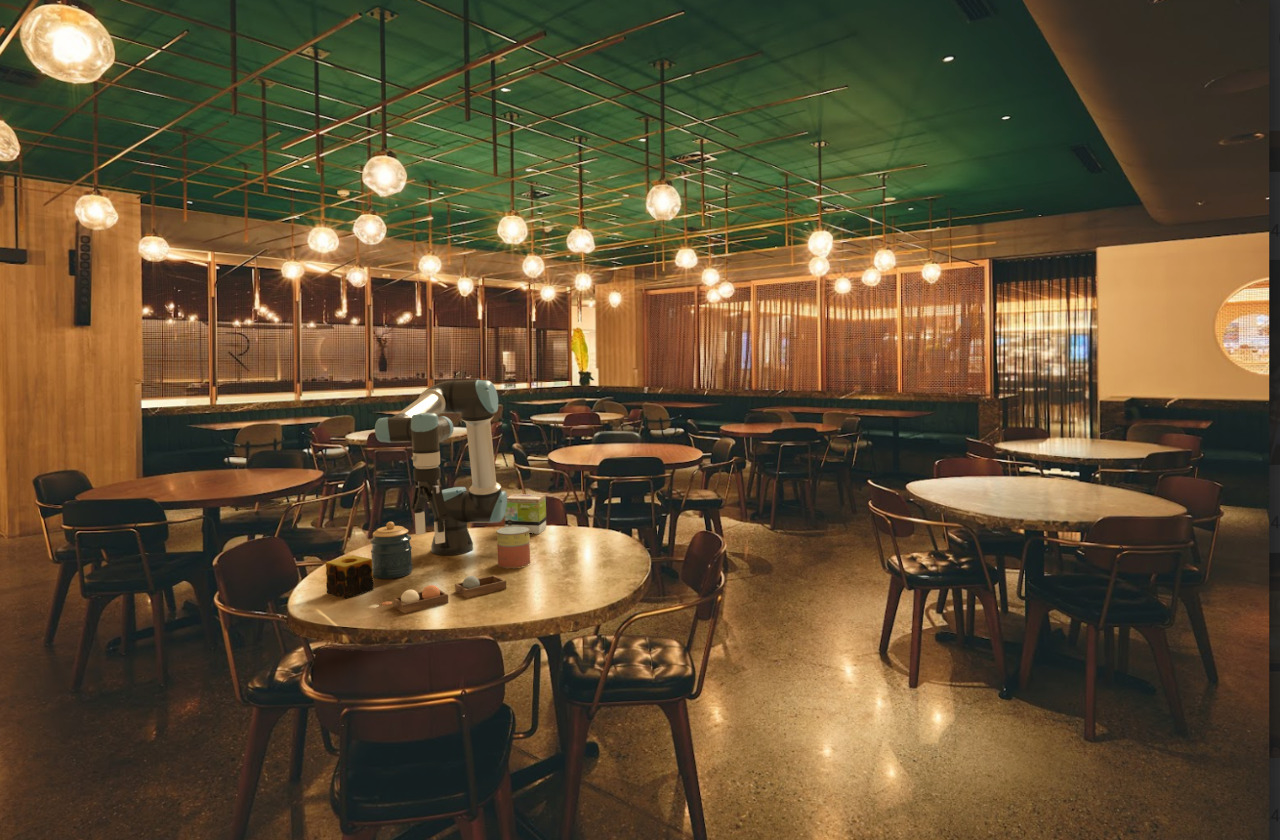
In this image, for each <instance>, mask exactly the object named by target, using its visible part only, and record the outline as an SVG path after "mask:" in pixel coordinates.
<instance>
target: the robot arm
mask: <svg viewBox="0 0 1280 840" xmlns="http://www.w3.org/2000/svg"><path fill="white" fill-rule="evenodd" d="M498 410H499V396H498V391H497V389H496V386H495V385H494V383H493V382H491V381H490V380H485V379H484V380H481V379H467V380H464V379H462V380H446V381H442V382H439V383H437V384H434V385H431V386H429V387H427V388H426V389H424V390H423V391H422V392H421V393H420V394H419V396H418V398H417V399H416V400H414V401H413V402H412V403H410V404H409V405H407V406H406V407H405V408H404V409H402V410H401V411H400V412H398V413H397V414H395V415H394V416H392V417H388V416H386V417H380V418H378V419H377V420H376V422H375V425H374V433H375V438H376V439H377V440H378V442H380V443H389V444H392V443H411V448H412V456H411V460H412V465H413V467H414V468H413V470H412V471H413V472H412V473H413V481H414V482H413V493H412V499H411V504H410V509H411V510H412V511H413V513H414V519H415V520H414V523H415V524H414V525H415V528H414V529H415V536H419V535H425V534H426V518H425V517H426V516H425V515H426V514H425V512H426V510H425V506H426V503H428V504H429V505H430V508H431V511H432V514H433V517H434V518H433V524H434V525H433V526H434V527H433V528H434V531H433V532H434V536H433V539H432V541H431V545H430V548H431V549H430V550H431V553H432V554H434V555H436V556H437V555H439V556H453V555H454V556H455V555H461V554H465V553H466V554H467V553H468V552H470V551H472V550H473V549H474V542H473V540H472V537H471V535H470V531H469V529H468V523H472V524H473V523H474V524H477V523H480V524H482V523H483V524H485V523H486V524H487V523H488V524H492V523H500V522H502V521H503V520H504V519H505V512H506V507H507V497H508V494H507V492H506V490H502V485H501V484H500V483H499V482H497V477H496V467H495V465H496V464H495V458H494V457H495V455H494V447H493V446H494V445H493V437H492V424H491V421H492V420H493V418H494V417H495V413H497V412H498ZM441 414H460V419H461V421H462V422H464V423H465V426H466V436H467V444H468V445H467V446H468V454H469V463H470V464H469V465H470V472H471V482H472V483H471V486H470V487H469V488H468V490H467V488H466V487H465V486H456V487H455V486H454V487H451V488H445V489H443V487H442V485H441V484H440V485H437V481H439V480H441V478H442V476H441V475H442V474H441V473H442V472H441V467H440V464H441V453H440V452H441V451H440V442H445V441H446V440H447V439H449V438H450V437H451V436H452V435H453V433H454V423H453V421H452V420H451V419H450V418H449V417H448V416H444V415H441Z"/></svg>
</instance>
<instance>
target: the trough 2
mask: <svg viewBox="0 0 1280 840" xmlns="http://www.w3.org/2000/svg"><path fill="white" fill-rule="evenodd" d="M478 580H479V583H480V585H479V587H475V588H471V589H466V588H464V587H463V582H459V583H455V584H454V586H455V587H454V592H455V593H456V594H458V595H460V596H462V597H464V598H465V599H469V598H474V597H477V596H478V597H479V596H481V595H485V594H489V593H494V592H498V591H501V590H506V589H507V580H506V579H503V578H501V577H500V576H496V575H494V574H493V575H488V576H485V577H481V578H480V577H479V578H478Z"/></svg>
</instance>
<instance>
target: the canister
mask: <svg viewBox="0 0 1280 840" xmlns="http://www.w3.org/2000/svg"><path fill="white" fill-rule="evenodd" d="M385 525H386V526H382V527H379V528H377V529H376V530H375V531H374V532H373V533H372V536H373V538H371V539H370V541H369V542H370V544H371V549H370V554H371V559H372V570H373V578H376V579H381V580H382V579H383V580H389V579H398V578H402V577H405V576H406V577H407V576H409V575H410V574H411V573H412V572H413V560H412V559H413V558H412V548H413V547H412V545H411V539H412V536H411V535H410V534H408V533H409V529H407V528H405V527H404V526H401V525H395V523H394V522H393V521H388V522H387V523H386V524H385Z"/></svg>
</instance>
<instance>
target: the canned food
mask: <svg viewBox="0 0 1280 840" xmlns="http://www.w3.org/2000/svg"><path fill="white" fill-rule="evenodd" d="M529 530H530V529H529V528H528V527H523V526H511V527H505V526H504V527H501V528H498V529H497V530H496V542H497V543H496V544H497V547H496V549H497V566H498V567H500V568H503V569H508V568H513V569H519V568H518V567H521V568H523V567H522V566H525V567H527V566H526V565H528V564H529V565H531V546H530V545H531V544H530V543H531V540H530V538H531V537H530V534H529ZM529 565H528V566H529Z"/></svg>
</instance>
